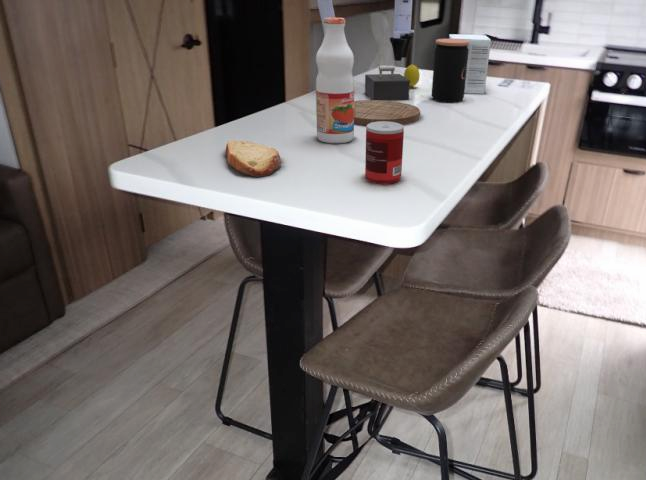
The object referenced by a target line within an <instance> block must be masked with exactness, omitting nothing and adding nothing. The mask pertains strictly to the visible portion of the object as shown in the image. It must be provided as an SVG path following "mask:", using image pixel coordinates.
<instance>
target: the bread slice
mask: <svg viewBox="0 0 646 480" xmlns="http://www.w3.org/2000/svg"><path fill="white" fill-rule="evenodd" d="M225 156H226V161H227V163H228V165H229V166H230V167H232V168H233V169H234V170H236V171H238V172H239V173H241V174H243V175H247V176H250V177H255V178H261V177H265V176H269V175H272V174H273V173H274V171H275V170H277V169H279V168H280V167H281V165H282V160H281V156H280V154H279V151H278V150H277V149H276V148H274V147H269V146H267V145H264V144H262V143H257V142H253V141H251V142H250V141H241V140H228V141H227V143H226V146H225Z"/></svg>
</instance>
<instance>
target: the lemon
mask: <svg viewBox="0 0 646 480" xmlns="http://www.w3.org/2000/svg"><path fill="white" fill-rule="evenodd" d="M420 75H421V74H420V70H419V68H418V66H417V65H414V64H413V63H411V64H410V65H408V66H407V67H406V68H405V70H404V73H403V76H404V77H405V78H407V79H409V80H410V83H409V89H410V88H411V89H412V88H414V86H416V85H417V84H418V83H419V81H420V77H421V76H420Z"/></svg>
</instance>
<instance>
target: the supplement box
mask: <svg viewBox="0 0 646 480" xmlns="http://www.w3.org/2000/svg"><path fill="white" fill-rule="evenodd" d="M448 39H462V40H468V41H469V45H468V46H467V48H468V50H469V51H468V61H467V71H466V81H465V90H464V94H478V95H479V94H481V95H484V94H486V86H487V85H486V84H487V76H488V67H489V60H490V51H491V44H492V39H491V38H489V36H487V35H486V34H460V33H459V34H458V33H457V34H454V33H452V34H451V33H450V34H448Z"/></svg>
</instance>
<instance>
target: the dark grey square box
mask: <svg viewBox="0 0 646 480" xmlns="http://www.w3.org/2000/svg"><path fill="white" fill-rule="evenodd" d="M364 94H365V95H366V97H368V98H369V99H370V100H384V101H408V100H410V87H409V83H375V84H374V83H373V82H372V81H370V80H369V79H368V78H366V77H365V76H364Z"/></svg>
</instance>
